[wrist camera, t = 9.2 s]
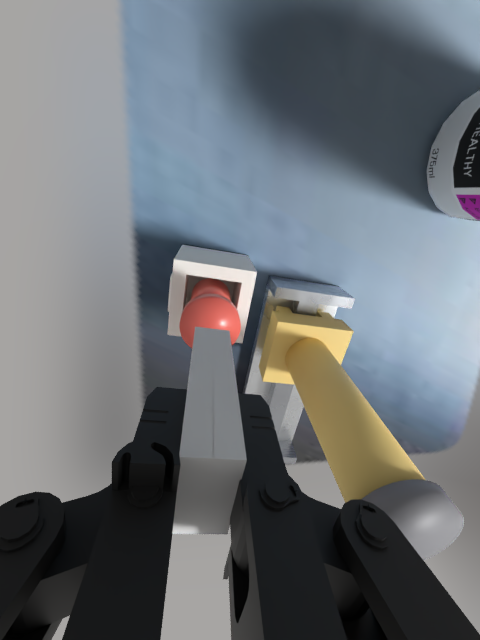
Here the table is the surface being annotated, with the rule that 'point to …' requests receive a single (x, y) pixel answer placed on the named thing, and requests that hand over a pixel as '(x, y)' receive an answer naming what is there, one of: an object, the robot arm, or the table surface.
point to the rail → (278, 293)
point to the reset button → (209, 311)
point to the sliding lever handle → (355, 429)
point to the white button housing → (210, 264)
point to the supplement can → (457, 162)
